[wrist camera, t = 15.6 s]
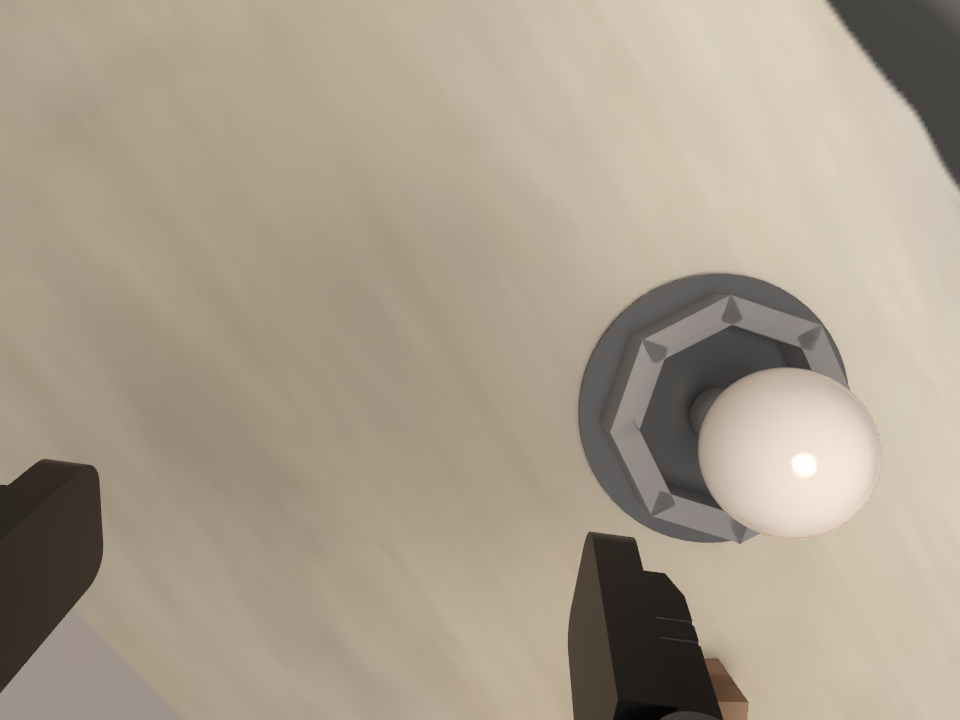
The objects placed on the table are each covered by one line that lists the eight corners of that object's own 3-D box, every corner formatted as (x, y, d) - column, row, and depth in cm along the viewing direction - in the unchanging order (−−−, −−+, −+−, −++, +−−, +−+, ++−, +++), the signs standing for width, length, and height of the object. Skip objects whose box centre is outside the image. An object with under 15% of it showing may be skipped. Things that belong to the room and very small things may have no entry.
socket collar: (542, 494, 37) (551, 514, 34) (631, 237, 35) (648, 234, 32) (788, 570, 38) (817, 596, 35) (883, 323, 36) (922, 327, 33)
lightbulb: (784, 350, 36) (933, 386, 25) (770, 481, 37) (908, 570, 26) (653, 342, 36) (745, 375, 25) (641, 474, 36) (725, 562, 25)
